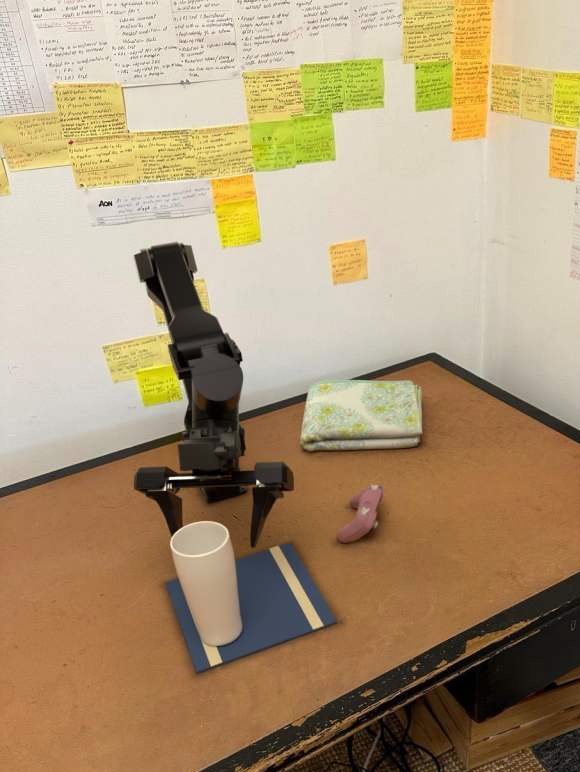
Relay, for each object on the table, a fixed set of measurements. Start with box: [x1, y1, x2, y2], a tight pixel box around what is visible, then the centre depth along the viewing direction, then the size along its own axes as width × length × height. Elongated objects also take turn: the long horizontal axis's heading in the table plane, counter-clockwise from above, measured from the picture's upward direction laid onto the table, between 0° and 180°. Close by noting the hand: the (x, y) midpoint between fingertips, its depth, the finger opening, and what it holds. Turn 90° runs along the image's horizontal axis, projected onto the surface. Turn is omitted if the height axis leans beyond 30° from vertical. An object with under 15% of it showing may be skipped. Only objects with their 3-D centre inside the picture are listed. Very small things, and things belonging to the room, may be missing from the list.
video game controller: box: [336, 483, 386, 544], centre depth 108 cm, size 10×5×7 cm, turn 168°
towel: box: [299, 379, 423, 452], centre depth 132 cm, size 18×21×5 cm
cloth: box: [165, 542, 338, 675], centre depth 98 cm, size 18×18×1 cm
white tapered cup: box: [169, 520, 242, 646], centre depth 89 cm, size 7×7×15 cm
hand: (215, 548), depth 91 cm, fingers open, 9 cm apart
